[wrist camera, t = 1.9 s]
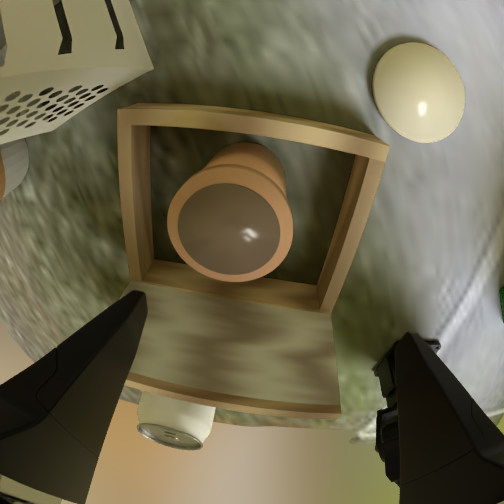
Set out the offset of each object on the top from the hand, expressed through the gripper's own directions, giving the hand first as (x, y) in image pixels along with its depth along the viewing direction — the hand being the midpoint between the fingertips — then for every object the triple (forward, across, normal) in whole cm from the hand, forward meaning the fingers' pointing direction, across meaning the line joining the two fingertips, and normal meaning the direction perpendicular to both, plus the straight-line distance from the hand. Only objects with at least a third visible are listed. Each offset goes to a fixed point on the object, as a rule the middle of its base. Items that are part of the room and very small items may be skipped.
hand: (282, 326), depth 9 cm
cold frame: (+13, +2, +3) cm, 13 cm away
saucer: (+13, -8, -9) cm, 17 cm away
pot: (+13, +2, +1) cm, 13 cm away
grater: (+13, +17, -9) cm, 23 cm away
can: (+13, +5, +18) cm, 22 cm away
